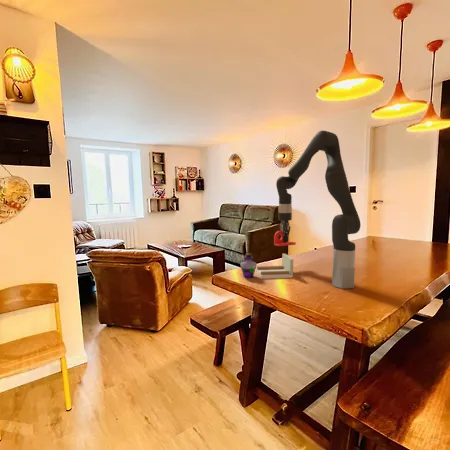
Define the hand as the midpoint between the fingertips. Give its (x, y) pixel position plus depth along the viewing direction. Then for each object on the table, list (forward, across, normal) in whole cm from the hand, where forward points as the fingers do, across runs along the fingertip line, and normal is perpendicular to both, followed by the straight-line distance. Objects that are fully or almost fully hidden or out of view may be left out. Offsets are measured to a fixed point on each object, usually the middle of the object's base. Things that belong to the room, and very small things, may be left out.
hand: (284, 241), depth 165 cm
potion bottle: (+15, -17, +24) cm, 33 cm away
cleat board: (+15, -15, +10) cm, 23 cm away
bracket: (+2, -2, 0) cm, 2 cm away
